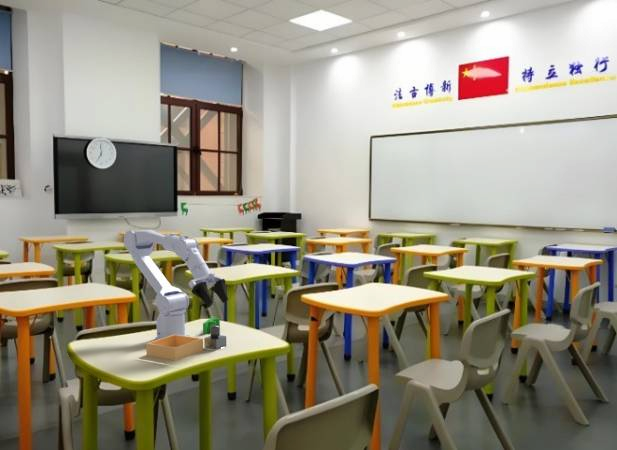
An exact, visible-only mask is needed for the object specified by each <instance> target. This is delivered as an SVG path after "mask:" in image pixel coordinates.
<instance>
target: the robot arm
mask: <svg viewBox="0 0 617 450" xmlns="http://www.w3.org/2000/svg"><path fill="white" fill-rule="evenodd" d="M155 244H158V245H161V246H162V248H163V249H164V250H165V251H169V252H172V253H174V254H175V255H176V256H177V257H179V258H181V260H182V261H183V262H184V263H185V265H186V267H187V268H188V270H189V272H190V273H191V275H192V277H193V279H191V280H190V281H189V282H188V286H189V288H190V289H191V290H190V292H191V293H192V294H193V295H195V296H197V297H198V298H199V299H200V300H202V302H204V304H206V306H208V307H210V306H211V305H212V304H213V303H214V301H213V298H212V296H211V293H210V291H209V290H208V289H209V288H208V286H210V285H213V287H212V288H211V291H212V292H214V294H216V295H217V297H218V298H219V300H220V301H221V303H223V304H225V303H226V302H228V300H229V297H228V293H227V288H226V279H225V278H223V277H222V276H218V275H216V274H215V272H212V271H211V270H210V267H209V266H208V264H207V263H206V261H205V260H204V258H203V256H202V254H201V253H200V251H199V249H200V246H199V242H198V240H196V239H195V238H194V237H191V238H186V237H185V236H178V235H176V233H174V232H171V233H170V232H169V233H168V234H166V235H165V234H162V233H161V232H157V231H155V230H154V229H149V228H148V229H141V230H131V229H130V230H126V231H125V233H124V236H123V246H124V247H125V249H126V250H127V251H128V253H129V254H130V256H131V259H132V260H133V263H134V264H135V265H136V267H137V268H138V269H139V270H140V272H141V273H142V275H143V276H144V278H145V279H146V280H147V282H148V283H149V284H150V286H151V287H152V288H153V290H154V291H155V292H156V293H155V294H156V295H155V299H154V302H155V304H156V306H157V309H158V310H159V312H160V313H159V314H158V315H157V318H156V337H155V338H154V339H155V340H159V339H162V338H165V337H168V336H171V335H174V334H175V335H182V336H189V337H191V335H189V334H186V327H185V324H186V323H185V321H186V320H185V318H186V317H185V313H186V312H187V309H188V308H189V305H190V299H189V296H188V295H187V294H186V293H185V292H183V291H182V290H181V288H178V287H177V286H173V285H172V284H171V283H170V282H169V281H168V280H167V278H166V277H165V275H164V274H163V273H162V271H161V270H160V269H159V267H158V266H157V265H156V264H155V262H154V261H153V259H152V258H151V256H150V255H151V254H152V253H153V249H154V245H155Z"/></svg>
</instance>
